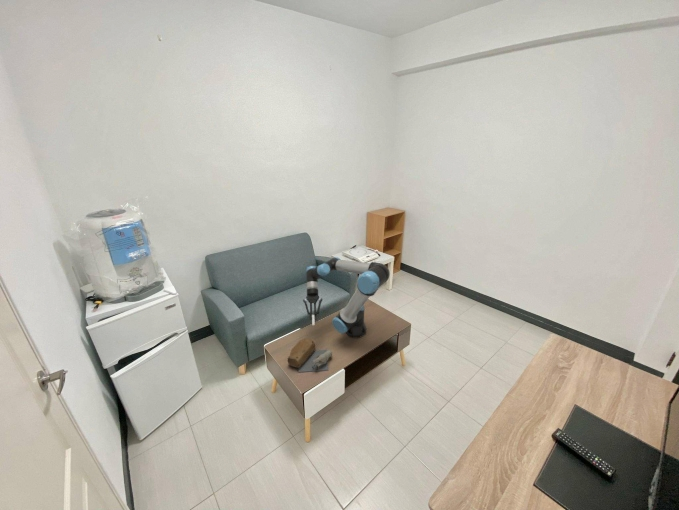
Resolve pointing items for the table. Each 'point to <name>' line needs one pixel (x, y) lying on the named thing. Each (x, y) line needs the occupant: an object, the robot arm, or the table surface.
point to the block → (301, 352)
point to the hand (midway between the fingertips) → (313, 325)
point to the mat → (309, 363)
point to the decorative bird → (322, 358)
